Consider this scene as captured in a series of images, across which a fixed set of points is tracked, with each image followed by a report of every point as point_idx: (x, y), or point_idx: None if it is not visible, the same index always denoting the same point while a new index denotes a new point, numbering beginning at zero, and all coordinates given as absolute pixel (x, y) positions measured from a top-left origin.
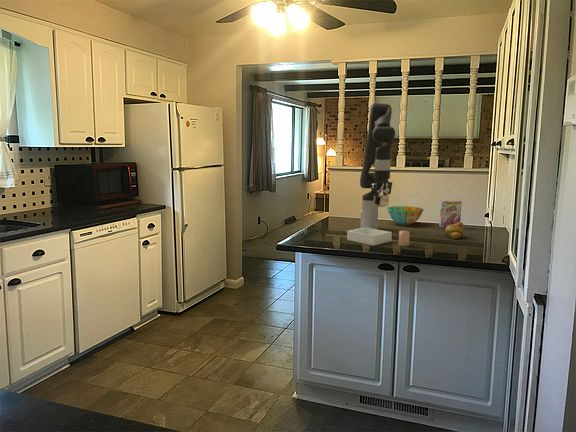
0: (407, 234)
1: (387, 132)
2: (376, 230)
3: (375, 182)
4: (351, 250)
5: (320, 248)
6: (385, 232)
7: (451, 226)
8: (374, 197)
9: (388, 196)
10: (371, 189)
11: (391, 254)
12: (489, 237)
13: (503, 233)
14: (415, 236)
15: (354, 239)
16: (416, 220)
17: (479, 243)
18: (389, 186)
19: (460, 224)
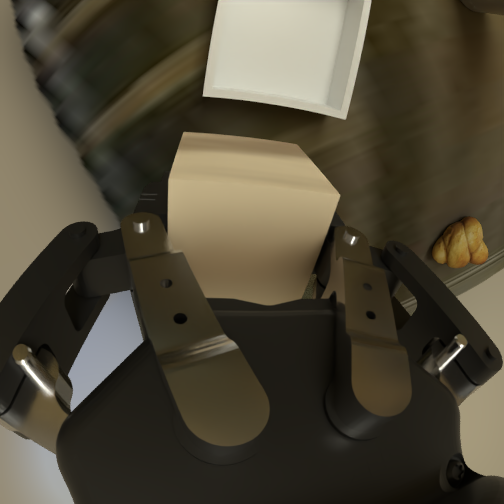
0: None
1: None
2: (355, 38)
3: (58, 463)
4: (71, 91)
5: (26, 9)
6: (343, 87)
7: (461, 254)
8: (173, 173)
9: (289, 300)
10: (7, 295)
11: None
12: (458, 281)
13: (486, 279)
14: (439, 150)
15: None
16: None
17: (404, 296)
18: (416, 359)
19: (475, 262)
